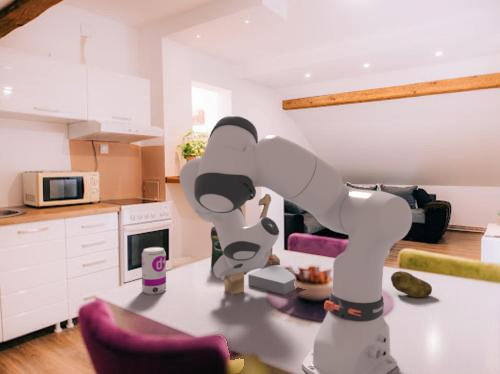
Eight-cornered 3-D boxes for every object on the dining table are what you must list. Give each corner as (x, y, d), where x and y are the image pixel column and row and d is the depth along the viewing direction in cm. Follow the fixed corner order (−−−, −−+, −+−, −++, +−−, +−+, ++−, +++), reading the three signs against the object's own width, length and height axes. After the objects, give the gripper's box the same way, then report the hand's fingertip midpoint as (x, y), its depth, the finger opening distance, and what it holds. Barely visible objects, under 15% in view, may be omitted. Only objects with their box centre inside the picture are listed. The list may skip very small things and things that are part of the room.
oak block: (244, 291, 125) (244, 263, 124) (232, 294, 122) (232, 266, 121) (236, 287, 129) (236, 260, 128) (224, 290, 126) (224, 262, 125)
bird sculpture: (250, 260, 168) (249, 193, 165) (274, 257, 170) (272, 192, 168) (256, 266, 157) (255, 195, 154) (281, 264, 160) (280, 194, 157)
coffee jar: (235, 266, 155) (235, 225, 154) (230, 272, 147) (230, 228, 146) (214, 265, 157) (214, 224, 156) (208, 270, 149) (208, 227, 148)
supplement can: (170, 290, 125) (170, 249, 124) (150, 297, 119) (149, 253, 118) (158, 285, 131) (157, 245, 130) (137, 291, 125) (137, 249, 124)
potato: (431, 302, 115) (432, 278, 114) (389, 296, 120) (390, 273, 120) (431, 294, 122) (432, 271, 122) (391, 288, 128) (392, 267, 127)
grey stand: (284, 294, 121) (284, 283, 121) (248, 284, 132) (248, 274, 131) (307, 282, 134) (307, 272, 134) (273, 274, 144) (273, 265, 144)
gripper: (269, 242, 125) (252, 263, 133) (219, 250, 113) (205, 272, 121) (277, 257, 121) (260, 277, 130) (227, 267, 109) (211, 289, 118)
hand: (233, 275), depth 125 cm, fingers open, 7 cm apart
